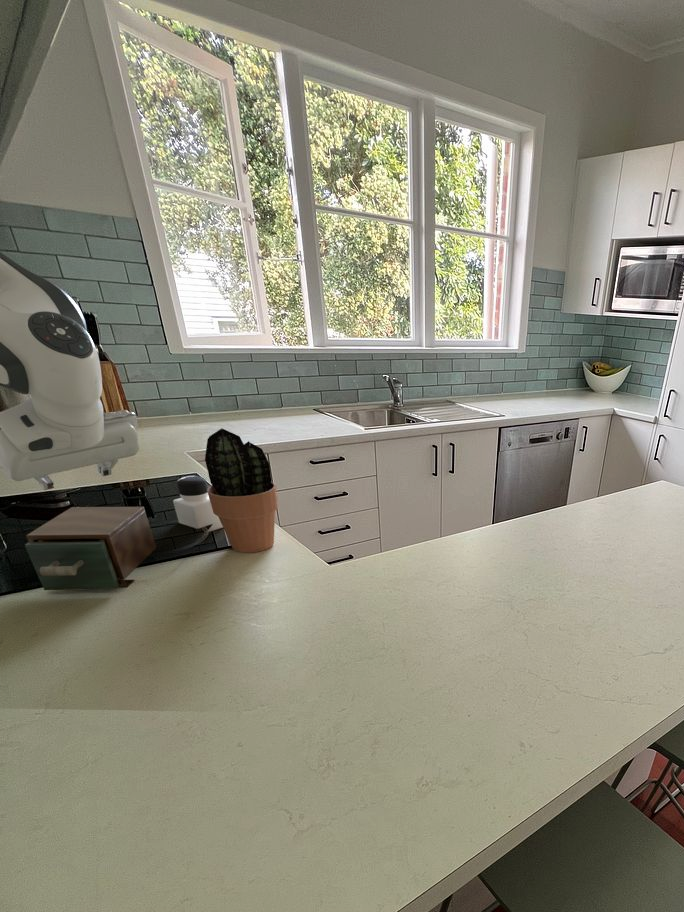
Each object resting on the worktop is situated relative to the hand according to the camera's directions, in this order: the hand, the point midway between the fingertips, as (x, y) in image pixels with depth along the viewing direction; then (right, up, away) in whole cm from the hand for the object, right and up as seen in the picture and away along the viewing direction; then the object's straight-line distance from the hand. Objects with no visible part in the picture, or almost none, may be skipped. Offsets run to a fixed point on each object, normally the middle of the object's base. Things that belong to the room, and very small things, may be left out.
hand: (76, 479), depth 96 cm
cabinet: (-3, -15, +12) cm, 19 cm away
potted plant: (+20, -7, +26) cm, 34 cm away
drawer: (-2, -17, +8) cm, 18 cm away
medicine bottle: (+5, -2, +34) cm, 34 cm away
